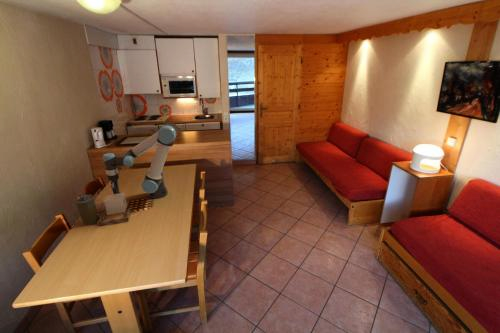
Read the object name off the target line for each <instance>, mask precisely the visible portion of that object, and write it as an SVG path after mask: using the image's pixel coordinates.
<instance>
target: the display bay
mask: <svg viewBox="0 0 500 333" xmlns="http://www.w3.org/2000/svg"><path fill="white" fill-rule="evenodd" d="M126 211H127V212H126V216H124V217H118V218H112V219H106V220H104V218H105V215H106V213H105V211H102V212H100V216H99V220H98V222H96V223H97V226H98V227H103V226H109V225H115V224H116V225H117V224H121V223H128V222H130V221H129V220H130V216H131V207H128V208H127V209H126Z"/></svg>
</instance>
